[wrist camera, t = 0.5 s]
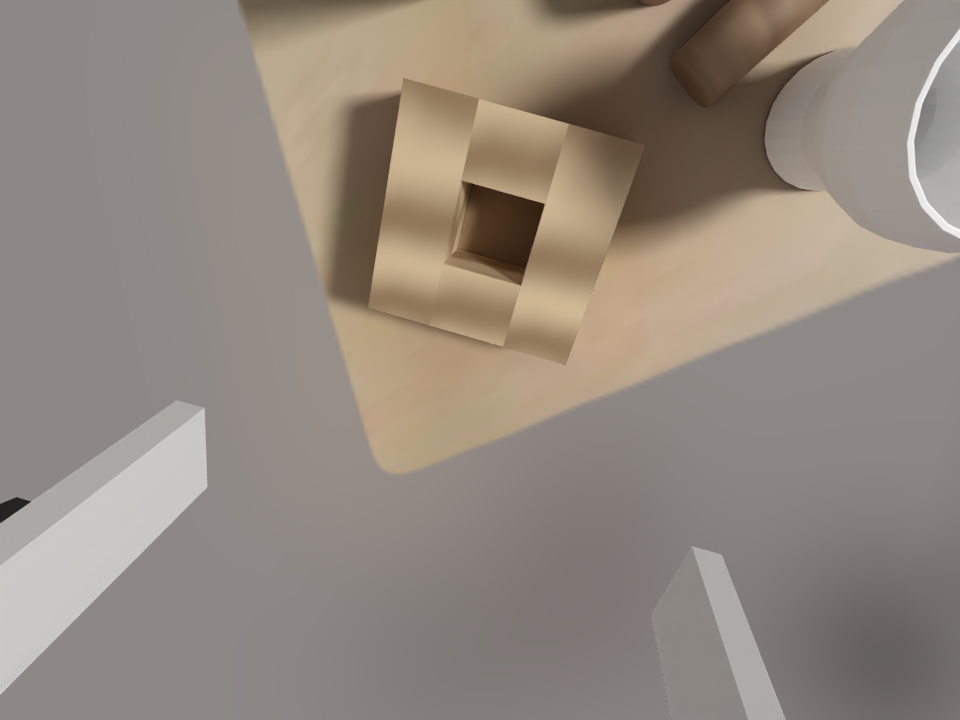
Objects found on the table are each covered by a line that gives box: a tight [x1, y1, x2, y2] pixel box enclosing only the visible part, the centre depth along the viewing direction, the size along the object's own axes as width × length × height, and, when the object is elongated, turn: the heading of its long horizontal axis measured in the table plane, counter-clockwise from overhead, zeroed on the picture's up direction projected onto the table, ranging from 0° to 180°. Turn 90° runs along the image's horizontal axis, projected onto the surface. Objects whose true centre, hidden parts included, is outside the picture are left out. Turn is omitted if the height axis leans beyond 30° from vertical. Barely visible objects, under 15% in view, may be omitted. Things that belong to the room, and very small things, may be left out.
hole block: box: [368, 78, 646, 365], centre depth 32 cm, size 14×14×5 cm
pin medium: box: [670, 0, 829, 108], centre depth 27 cm, size 4×4×8 cm
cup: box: [765, 0, 960, 253], centre depth 22 cm, size 11×11×15 cm
